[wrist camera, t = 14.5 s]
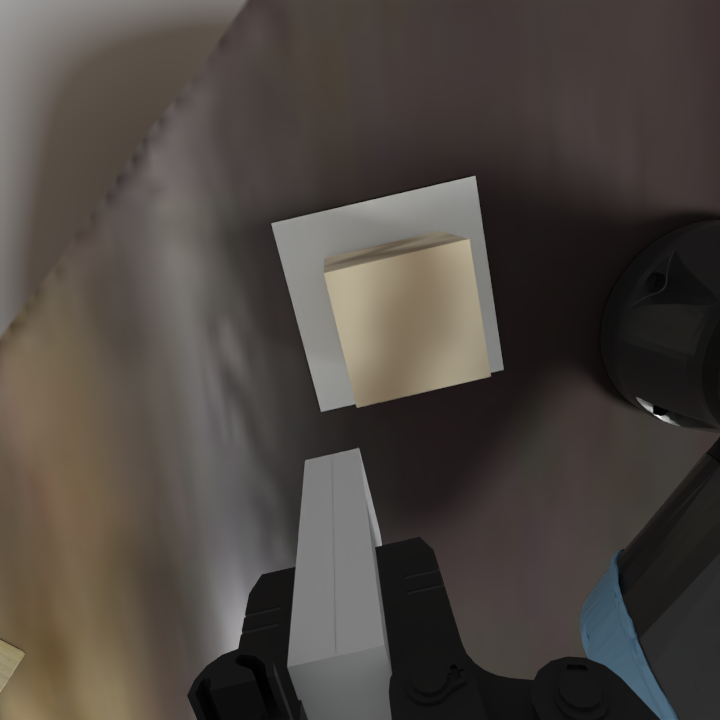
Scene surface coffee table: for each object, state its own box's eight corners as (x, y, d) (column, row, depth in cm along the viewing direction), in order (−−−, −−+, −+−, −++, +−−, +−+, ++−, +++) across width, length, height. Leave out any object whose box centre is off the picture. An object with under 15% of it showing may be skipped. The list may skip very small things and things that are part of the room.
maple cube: (323, 273, 28) (324, 257, 36) (356, 408, 30) (350, 365, 38) (469, 238, 28) (438, 230, 36) (491, 376, 30) (457, 340, 38)
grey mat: (474, 176, 35) (475, 175, 35) (502, 368, 39) (503, 369, 39) (271, 223, 35) (271, 223, 35) (321, 410, 39) (321, 411, 39)
